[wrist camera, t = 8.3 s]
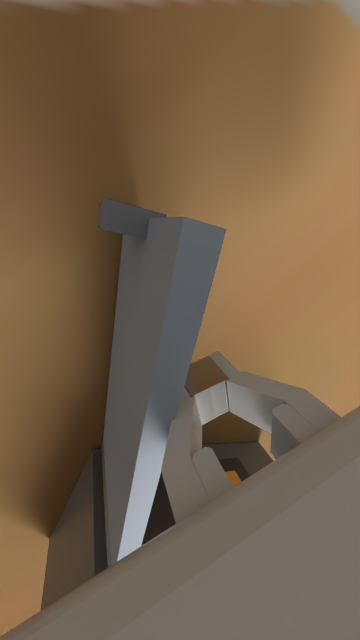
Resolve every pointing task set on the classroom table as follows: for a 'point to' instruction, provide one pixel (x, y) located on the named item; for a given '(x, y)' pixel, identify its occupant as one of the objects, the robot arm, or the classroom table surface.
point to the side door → (149, 355)
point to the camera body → (89, 518)
